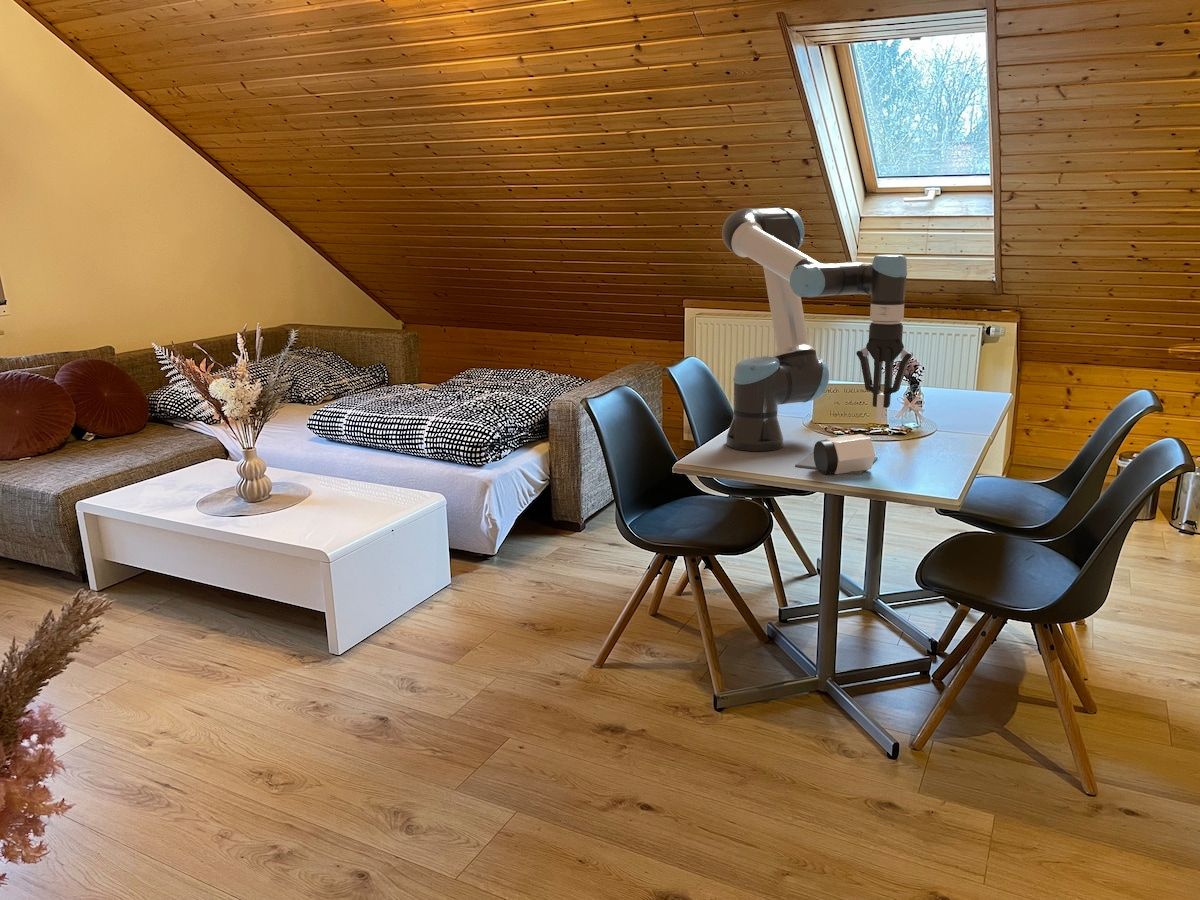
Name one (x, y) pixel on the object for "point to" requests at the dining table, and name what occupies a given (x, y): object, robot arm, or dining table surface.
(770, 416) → the robot arm
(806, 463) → the mat
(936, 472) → the dining table surface
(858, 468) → the jar
